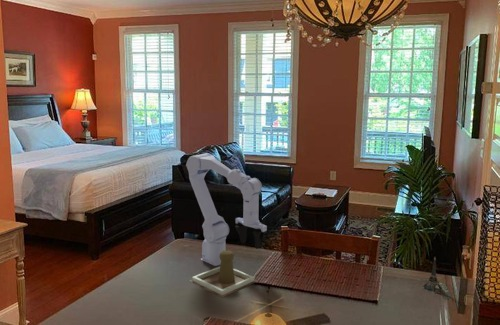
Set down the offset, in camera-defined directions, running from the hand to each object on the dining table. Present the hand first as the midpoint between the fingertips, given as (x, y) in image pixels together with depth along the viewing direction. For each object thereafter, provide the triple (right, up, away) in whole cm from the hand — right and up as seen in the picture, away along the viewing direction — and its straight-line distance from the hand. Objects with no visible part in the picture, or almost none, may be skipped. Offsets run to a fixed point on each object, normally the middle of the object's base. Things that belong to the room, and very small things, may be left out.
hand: (250, 245), depth 177 cm
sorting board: (-10, -12, -8) cm, 17 cm away
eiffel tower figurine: (+65, -14, -11) cm, 68 cm away
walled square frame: (-10, -12, -8) cm, 17 cm away
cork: (-9, -12, -7) cm, 16 cm away
